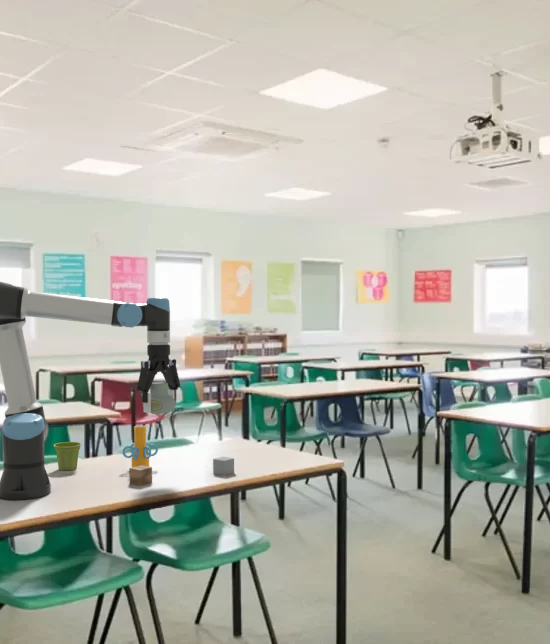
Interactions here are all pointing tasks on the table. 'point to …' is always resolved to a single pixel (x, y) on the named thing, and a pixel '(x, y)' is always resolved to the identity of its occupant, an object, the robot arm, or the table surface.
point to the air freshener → (161, 398)
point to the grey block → (223, 466)
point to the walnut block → (140, 475)
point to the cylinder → (140, 448)
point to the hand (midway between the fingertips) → (159, 410)
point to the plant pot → (67, 455)
